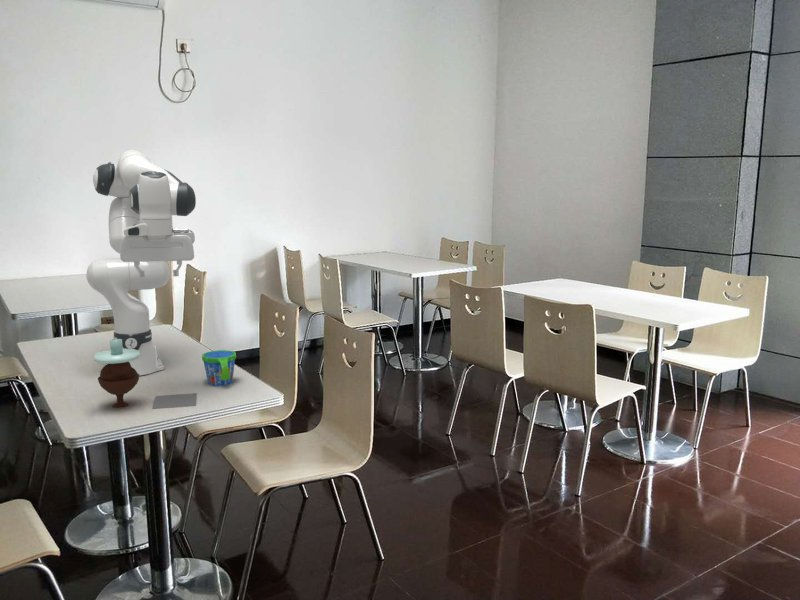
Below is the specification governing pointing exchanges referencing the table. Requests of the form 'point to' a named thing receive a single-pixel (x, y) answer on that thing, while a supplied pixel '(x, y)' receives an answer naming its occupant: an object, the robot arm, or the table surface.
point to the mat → (174, 401)
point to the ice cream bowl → (118, 381)
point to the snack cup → (219, 367)
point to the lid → (116, 354)
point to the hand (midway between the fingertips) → (159, 276)
